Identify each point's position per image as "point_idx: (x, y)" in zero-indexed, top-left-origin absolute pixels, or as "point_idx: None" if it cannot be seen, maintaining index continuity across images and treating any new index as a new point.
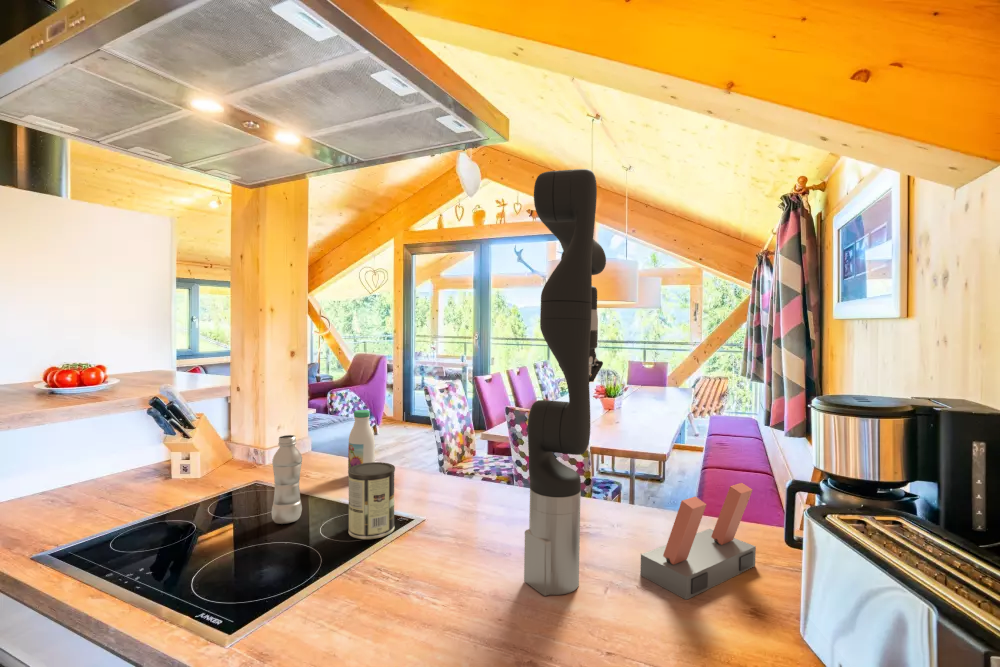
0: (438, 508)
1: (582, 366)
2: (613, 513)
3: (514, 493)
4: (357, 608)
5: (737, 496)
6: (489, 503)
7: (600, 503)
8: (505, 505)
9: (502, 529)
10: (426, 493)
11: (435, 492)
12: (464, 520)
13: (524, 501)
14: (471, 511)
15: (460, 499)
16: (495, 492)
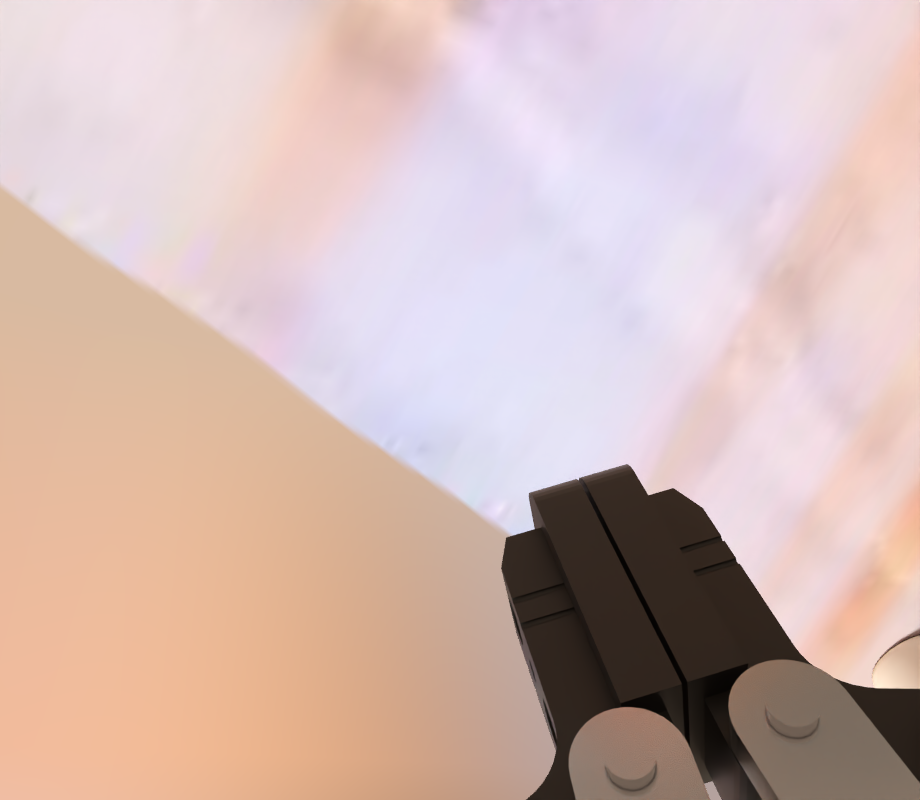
0: (869, 350)
1: None
2: (115, 51)
3: (508, 438)
4: None
5: None
6: (668, 354)
7: (129, 219)
8: (619, 317)
9: (785, 51)
10: (820, 496)
11: (788, 500)
12: (859, 204)
13: (515, 341)
14: (781, 289)
15: (747, 418)
16: (579, 462)
